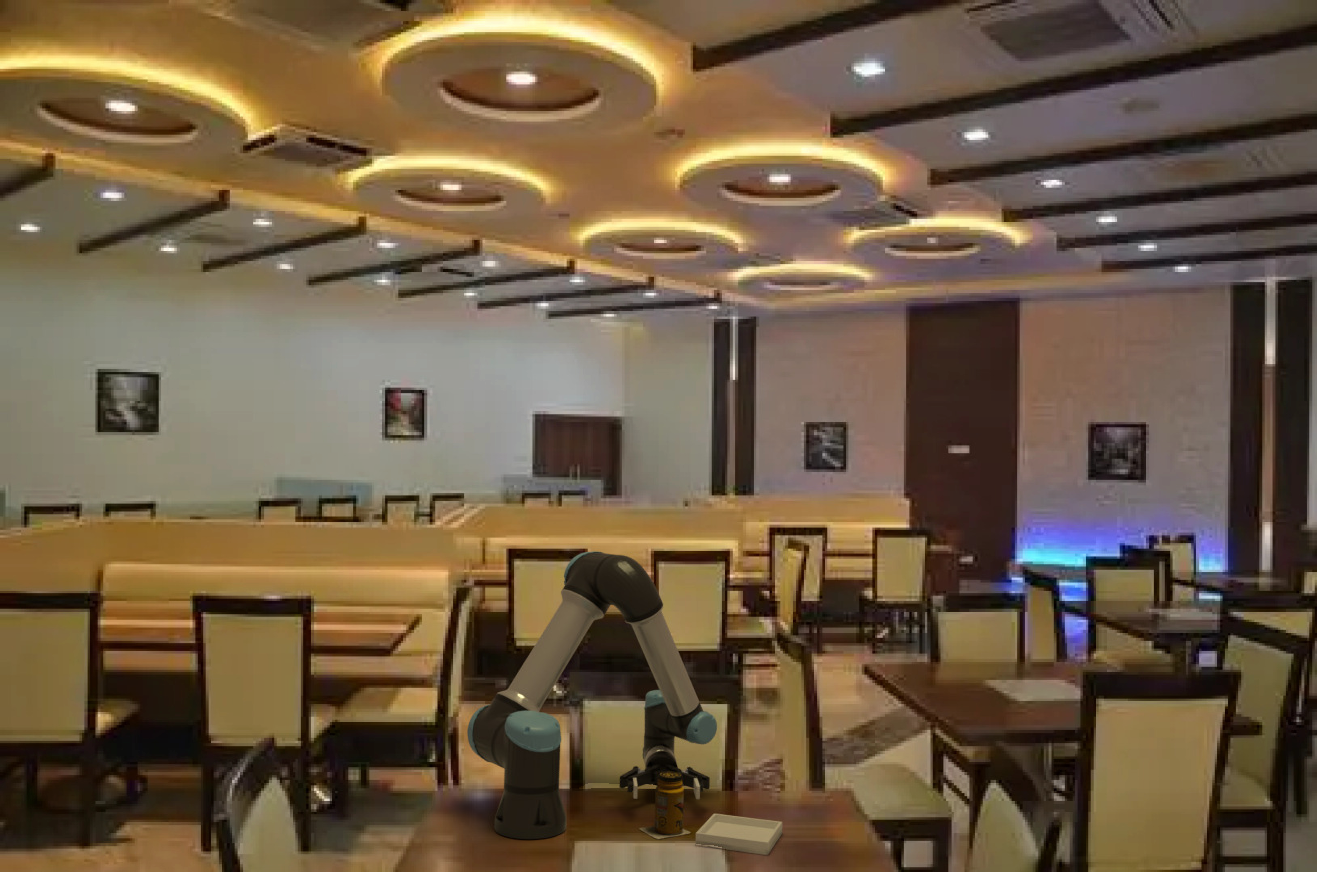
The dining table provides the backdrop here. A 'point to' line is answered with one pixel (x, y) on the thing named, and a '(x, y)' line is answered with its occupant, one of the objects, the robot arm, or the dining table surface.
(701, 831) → the tray
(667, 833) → the condiment
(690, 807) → the dining table surface
